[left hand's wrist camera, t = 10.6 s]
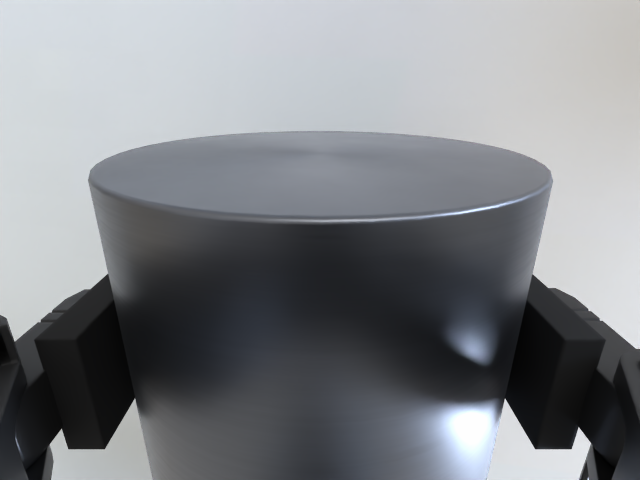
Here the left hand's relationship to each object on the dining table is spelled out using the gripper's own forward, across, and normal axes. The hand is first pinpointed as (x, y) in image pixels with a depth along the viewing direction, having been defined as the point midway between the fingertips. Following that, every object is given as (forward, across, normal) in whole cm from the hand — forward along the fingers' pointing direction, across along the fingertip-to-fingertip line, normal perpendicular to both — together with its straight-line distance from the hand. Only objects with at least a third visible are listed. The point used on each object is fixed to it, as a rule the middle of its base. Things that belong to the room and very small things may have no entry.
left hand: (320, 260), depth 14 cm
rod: (+1, 0, -8) cm, 8 cm away
